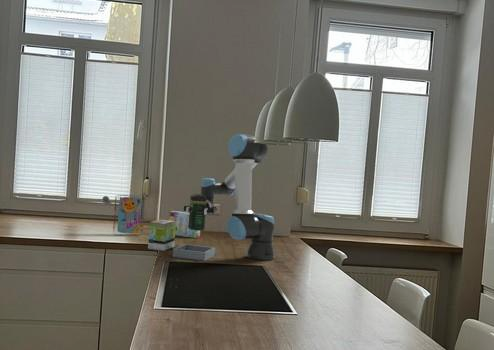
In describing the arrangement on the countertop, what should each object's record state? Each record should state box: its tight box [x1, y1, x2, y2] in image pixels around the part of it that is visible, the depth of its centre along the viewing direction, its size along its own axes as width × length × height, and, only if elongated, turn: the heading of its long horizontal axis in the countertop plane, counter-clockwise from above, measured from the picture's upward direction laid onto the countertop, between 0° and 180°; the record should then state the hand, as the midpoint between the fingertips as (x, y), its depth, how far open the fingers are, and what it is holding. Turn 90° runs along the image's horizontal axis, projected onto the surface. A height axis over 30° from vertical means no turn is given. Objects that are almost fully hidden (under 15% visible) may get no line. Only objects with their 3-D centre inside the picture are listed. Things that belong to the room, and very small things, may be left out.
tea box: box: [147, 219, 176, 252], centre depth 281 cm, size 15×10×15 cm
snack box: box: [168, 210, 201, 239], centre depth 329 cm, size 21×6×15 cm, turn 65°
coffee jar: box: [188, 193, 207, 232], centre depth 265 cm, size 10×8×19 cm
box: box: [102, 194, 146, 237], centre depth 312 cm, size 25×6×24 cm, turn 113°
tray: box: [172, 243, 217, 262], centre depth 266 cm, size 17×17×4 cm
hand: (196, 211), depth 260 cm, fingers closed on coffee jar, 8 cm apart
